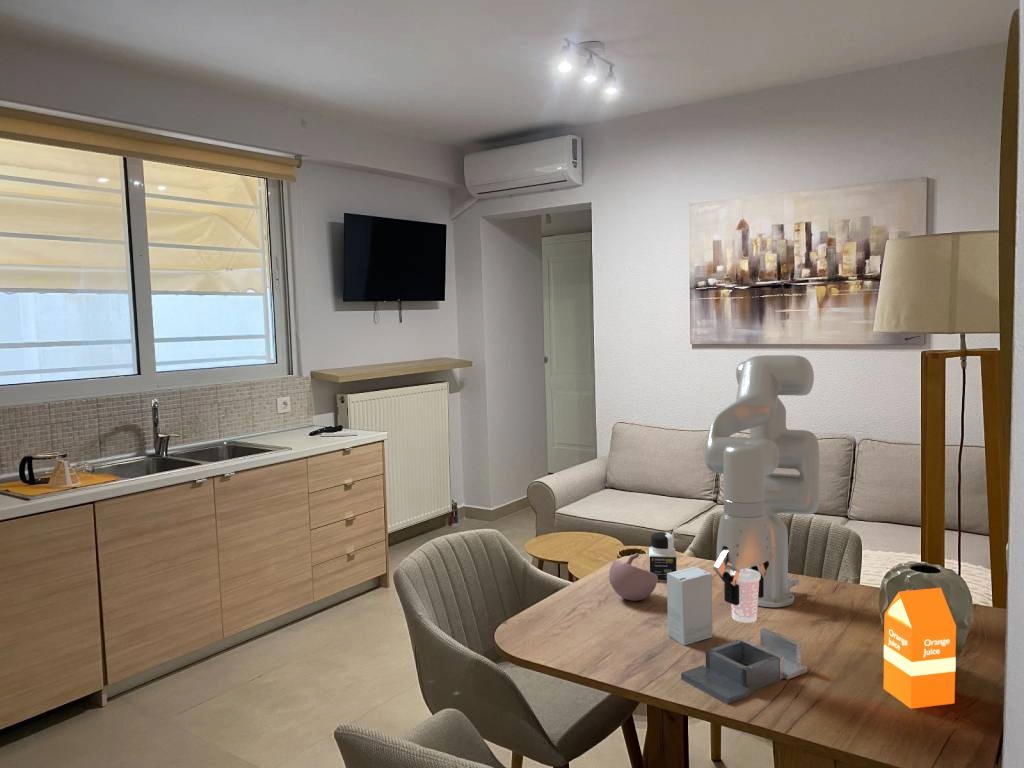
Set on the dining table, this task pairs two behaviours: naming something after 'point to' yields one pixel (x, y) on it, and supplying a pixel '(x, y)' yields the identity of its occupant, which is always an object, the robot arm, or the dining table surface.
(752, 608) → the beverage cup
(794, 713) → the dining table surface
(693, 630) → the skincare box
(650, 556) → the medicine bottle
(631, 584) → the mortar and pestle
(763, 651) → the gray u-channel trough
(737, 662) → the fixed leaf
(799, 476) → the robot arm
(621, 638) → the dining table surface
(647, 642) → the dining table surface
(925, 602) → the orange juice
